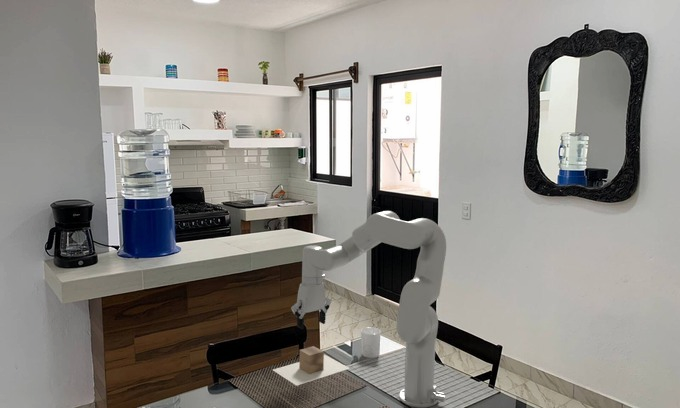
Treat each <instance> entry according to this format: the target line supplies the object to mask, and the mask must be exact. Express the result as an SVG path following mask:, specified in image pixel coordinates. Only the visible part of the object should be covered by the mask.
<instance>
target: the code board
mask: <svg viewBox="0 0 680 408" xmlns="http://www.w3.org/2000/svg"><path fill="white" fill-rule="evenodd" d="M349 369H350V367H348V366H347V365H345V364H343V363H341V362H339V361H337V360H336V359H334V358H331V357H330V356H328V355H326V354H324V370H321V371H318V372H315V373H312V374H308V373H307V372H305V371H303V370H302V369H300V368H299V361H297V362H295V363H291V364H287V365H285V366H280V367H277V368H273V369H272V371H274V372H275V373H276V374H278V375H280V376H281V377H283V378H284V379H286V381H288V382H290V383H292V384H293V385H294V386H296V387H297V386H300V385H303V384H307V383H310V382H312V381H315V380H319V379H321V378H325V377H328V376H331V375H334V374H337V373H341V372H343V371H346V370H349Z"/></svg>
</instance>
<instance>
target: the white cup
mask: <svg viewBox="0 0 680 408" xmlns="http://www.w3.org/2000/svg"><path fill="white" fill-rule="evenodd" d="M381 332H382V330H381V329H380V328H378V327H371V326H370V327H369V326H368V327H362V328H361V330H360V344H361V346H360V347H361V355H362V357H364V358H367V359H373V358H375V359H376V358H377V357H379V354H380V345H381V344H380V343H381Z"/></svg>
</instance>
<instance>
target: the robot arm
mask: <svg viewBox="0 0 680 408" xmlns="http://www.w3.org/2000/svg"><path fill="white" fill-rule="evenodd" d="M381 243H384V244H387V245H390V246H394V247H397V248H402V249H407V250H414V249H418V248H420V251H419V254H418V257H417V260H416V269H415V273H414V277H413V279H412V278H411V280H409V281H407V282H406V284H404V286H403V288H402V291H401V294H400V299H399V304H398V311H397V317H396V332H397V335H398V337H399V338H400V340H402V341H403V342H405V358H404V362H405V363H404V388H403V389H402V390H400V392H399V393H398V395H399V396H398V397H399V400H400V401H401V402H402V403H404V404H405V405H406V406H410V407H412V408H431V407H433V406H435V405H436V404H437V403H438V401H439V402H442V403H445V402H446V396H445V393H444V392H441V391H438V390H437V385H435V384H434V383H435V382H434V381H435V363H436V362H435V360H436V359H435V357H436V343H437V335H438V328H439V318H438V317H439V316H438V314H437V311H436V310H435V309H434V308H433V307H432V306H431V305H432V304H433V303H435V301H437V300H438V298H439V297H440V294H441V286H442V279H443V275H444V267H445V260H446V254H447V239H446V236H445V233H444V232H443V229H442V228H441V227H440V226H439V224H437V223H436V222H435V221H434V220H432V219H429V218H424V217H421V218H416V219H412V220H409V221H406V220H402V219H400V217H399V215H397V213H396V212H394V211H392V210H383V211H380V212H376V213H373V214H371V215H369V216H368V218H367V219H366V220H365V222H364V223H363V224H360V226H358V227H356V228H355V229H353V231H352V233H351V236H350V237H348V239H346V240H345V241H343V242H341V243H340V244H338V245H335V246H332V247H329V248H326V249H324V248H323V247H322V246H319V245H306V246H304V247H303V249H302V260H301V261H302V262H301V265H302V267H301V283H300V284H299V287H298V291H297V299H296V303H294V305H292V306H291V307H290V309H291V311H292V314H293V315H294V316H295V317H296V326H297V328H298V329H300V330H304V328H305V327H304V326H305V325H304V324H305V322H304V321H305V318H304V316H305V315H306V313H311V312H317V311H318V323H320V324H323V325H325V324H326V319H327V318H326V316H327V315H326V314H327V313H328V310H329V308H330V307H331V306H330V305H331V303H332V299H330V298H328V297H326V290H325V283H324V281H323V279H325V277H326V275H325V274H324V271H325V272H330V271H333V270H336V269H338V268H341V267H343V266H346V265H348V264H349V263H350V262H352V261H354V260H355V259H357V258H359V257H360V256H362V255H363V254H365V253H367V252H368V251H369V250H371V249H373V248H375V247H376V246H378V245H379V244H381Z"/></svg>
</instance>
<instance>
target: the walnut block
mask: <svg viewBox="0 0 680 408" xmlns="http://www.w3.org/2000/svg"><path fill="white" fill-rule="evenodd" d="M324 355H325V353H324V350H322V349H320V348H318V347H316V346H315V345H313V346H308V347H305V348H302V349H299V361H298V362H299V368H300V369H302V370H303V371H305V372H307V373H308V374H312V373H315V372H318V371H321V370H324Z"/></svg>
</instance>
